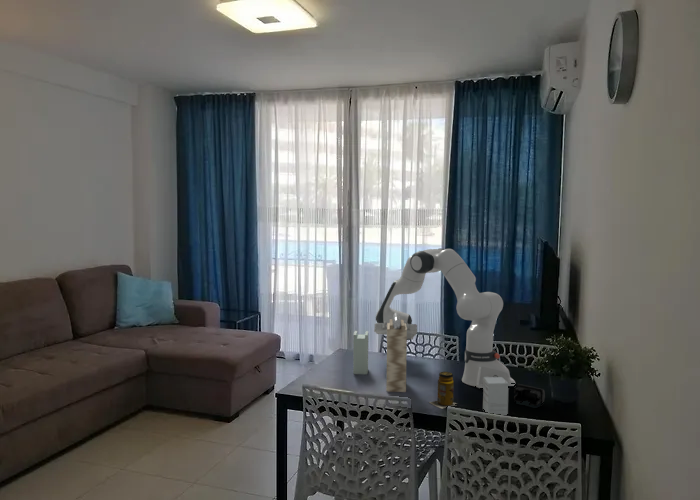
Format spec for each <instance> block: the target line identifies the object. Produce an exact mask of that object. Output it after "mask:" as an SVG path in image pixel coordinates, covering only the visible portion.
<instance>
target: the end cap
mask: <svg viewBox="0 0 700 500" xmlns="http://www.w3.org/2000/svg"><path fill="white" fill-rule="evenodd" d="M545 392H546V391H545V389H544V388H540V387H535V386H530V385H525V384H520V383H517V384H516V387H515V389H514V391H513V393H514V394H515V395H514V396H513V401H514V402H515V401H517V402H520V403H522V402H523V401H528V402H530V403H529V405H534V406H537V405H538V404H540V403H543V402H545V399H546V393H545ZM543 404H544V403H543Z"/></svg>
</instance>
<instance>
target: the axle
mask: <svg viewBox="0 0 700 500" xmlns="http://www.w3.org/2000/svg"><path fill="white" fill-rule="evenodd" d="M393 327H394V328H395V329H399V328H400V327H401V324H400V315H399V314H398V313H394V314H393Z"/></svg>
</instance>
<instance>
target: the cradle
mask: <svg viewBox="0 0 700 500" xmlns="http://www.w3.org/2000/svg"><path fill="white" fill-rule="evenodd" d="M352 342H353V349H352V350H353V353H352V355H353V356H352V357H353V358H352V361H353V364H352V366H353V367H352V370H353V373H352V374H353V375H368V372H369V331H368V330H366V331H365V332H364V334H359V333H358V330H354V332H353V339H352Z"/></svg>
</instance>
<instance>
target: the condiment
mask: <svg viewBox="0 0 700 500" xmlns="http://www.w3.org/2000/svg"><path fill="white" fill-rule="evenodd" d="M453 376H454V375H453V373H452V372H450V371H439V374H438V379H437V399H436V400H433V401H429V402H428V403H429V404H431V405H433V406H435V407H436V408H439V409H446V407H447V406H451V407H454V406H455V407H456V405H455V404H457V403H456V402H454V383H455V382H454V378H453ZM447 408H448V407H447Z"/></svg>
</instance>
